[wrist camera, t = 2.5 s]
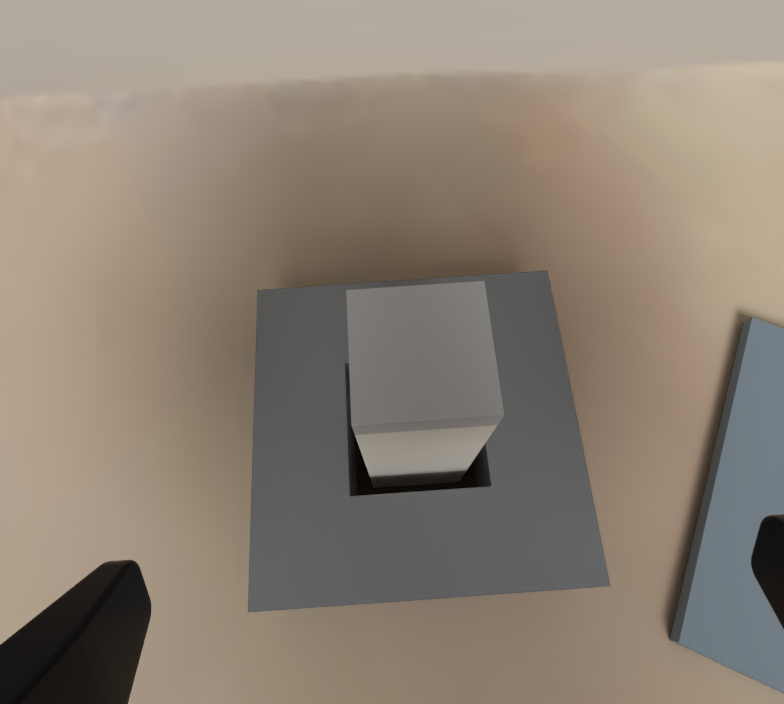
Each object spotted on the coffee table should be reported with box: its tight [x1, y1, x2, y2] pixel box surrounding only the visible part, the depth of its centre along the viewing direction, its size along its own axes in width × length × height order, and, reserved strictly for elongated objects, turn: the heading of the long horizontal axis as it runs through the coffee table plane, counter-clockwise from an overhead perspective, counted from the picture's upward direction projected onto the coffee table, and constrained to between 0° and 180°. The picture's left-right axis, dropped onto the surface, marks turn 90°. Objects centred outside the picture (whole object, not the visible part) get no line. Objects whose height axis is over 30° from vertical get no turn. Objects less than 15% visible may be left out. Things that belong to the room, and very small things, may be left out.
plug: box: [346, 281, 504, 488], centre depth 15 cm, size 3×3×9 cm
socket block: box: [248, 271, 610, 612], centre depth 18 cm, size 10×10×3 cm
